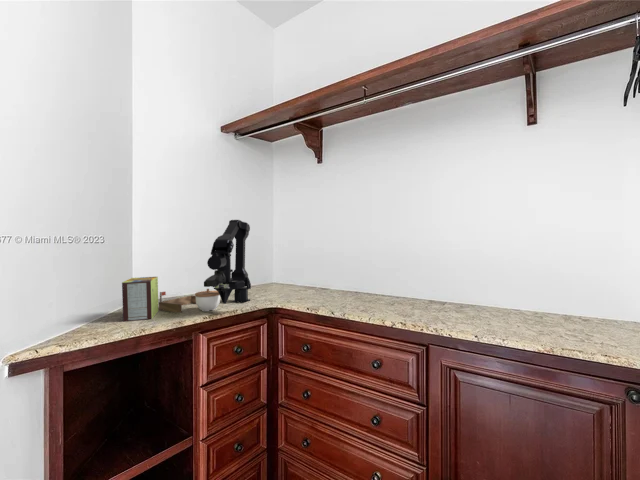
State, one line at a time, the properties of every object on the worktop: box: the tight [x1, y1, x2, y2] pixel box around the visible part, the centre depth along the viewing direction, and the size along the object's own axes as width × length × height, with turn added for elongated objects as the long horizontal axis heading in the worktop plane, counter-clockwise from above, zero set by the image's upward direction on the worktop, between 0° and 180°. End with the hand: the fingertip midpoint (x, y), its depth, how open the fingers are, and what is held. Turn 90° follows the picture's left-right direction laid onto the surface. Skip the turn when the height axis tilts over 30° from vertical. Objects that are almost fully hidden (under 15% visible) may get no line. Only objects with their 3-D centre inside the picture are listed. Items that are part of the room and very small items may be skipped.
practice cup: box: [158, 291, 196, 314], centre depth 152 cm, size 18×13×8 cm
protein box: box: [121, 276, 159, 322], centre depth 135 cm, size 10×15×16 cm
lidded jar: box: [194, 288, 221, 312], centre depth 145 cm, size 11×11×9 cm
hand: (224, 303), depth 141 cm, fingers closed
